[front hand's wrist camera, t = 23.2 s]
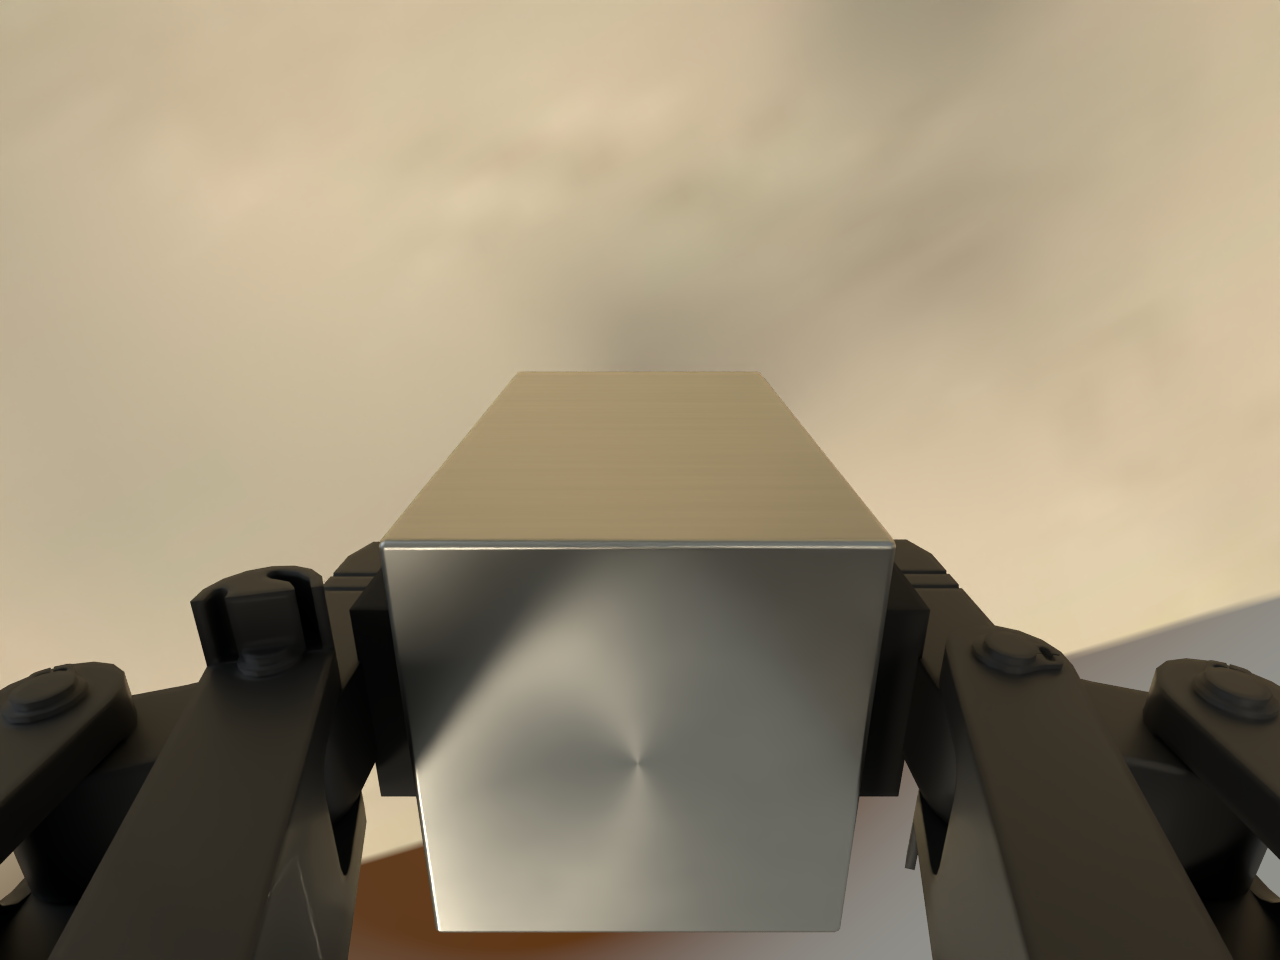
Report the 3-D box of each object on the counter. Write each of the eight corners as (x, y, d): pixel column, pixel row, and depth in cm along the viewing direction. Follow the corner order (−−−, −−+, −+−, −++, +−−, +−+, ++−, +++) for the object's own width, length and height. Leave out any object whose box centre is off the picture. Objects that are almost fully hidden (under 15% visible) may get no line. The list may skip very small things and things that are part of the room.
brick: (760, 371, 14) (899, 541, 7) (746, 598, 16) (841, 934, 8) (516, 371, 14) (374, 541, 7) (531, 598, 16) (434, 935, 8)
